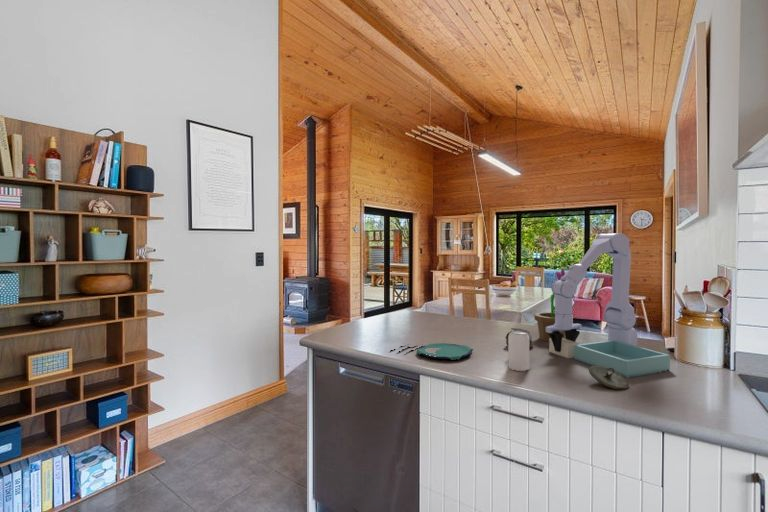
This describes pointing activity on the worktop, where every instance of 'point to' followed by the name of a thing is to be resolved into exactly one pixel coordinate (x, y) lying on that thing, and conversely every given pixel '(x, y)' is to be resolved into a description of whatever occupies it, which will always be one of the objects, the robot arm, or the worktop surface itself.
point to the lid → (608, 377)
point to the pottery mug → (507, 341)
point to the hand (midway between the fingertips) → (563, 350)
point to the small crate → (564, 348)
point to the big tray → (623, 358)
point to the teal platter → (446, 351)
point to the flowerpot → (548, 316)
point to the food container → (526, 331)
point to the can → (518, 350)
